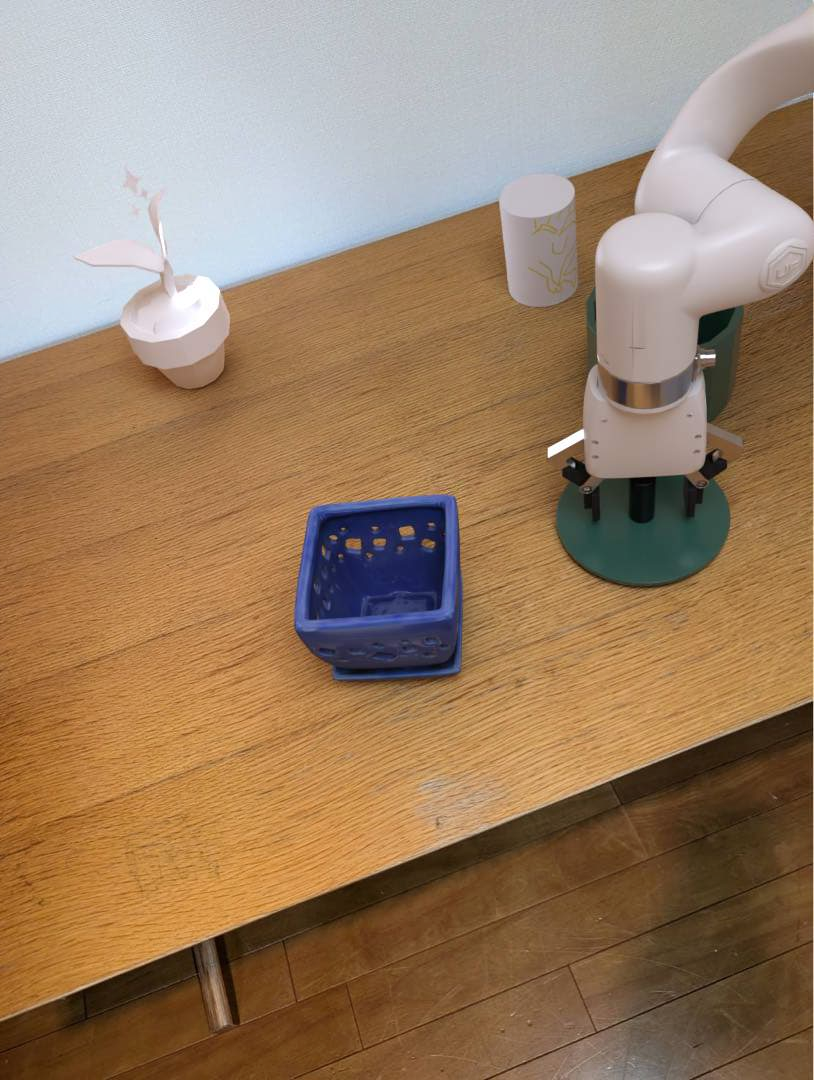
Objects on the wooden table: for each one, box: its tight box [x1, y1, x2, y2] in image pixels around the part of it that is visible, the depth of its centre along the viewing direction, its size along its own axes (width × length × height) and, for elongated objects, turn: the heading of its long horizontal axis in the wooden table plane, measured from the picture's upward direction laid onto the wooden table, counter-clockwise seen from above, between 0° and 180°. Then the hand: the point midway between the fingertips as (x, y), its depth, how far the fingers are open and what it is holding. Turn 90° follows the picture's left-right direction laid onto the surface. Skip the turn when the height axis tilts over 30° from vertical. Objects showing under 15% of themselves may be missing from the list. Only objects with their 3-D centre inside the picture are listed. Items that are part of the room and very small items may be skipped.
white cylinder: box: [498, 172, 579, 308], centre depth 112 cm, size 8×8×12 cm
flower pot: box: [293, 494, 464, 682], centre depth 85 cm, size 13×13×12 cm
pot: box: [585, 284, 745, 423], centre depth 99 cm, size 15×20×10 cm
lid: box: [555, 474, 731, 587], centre depth 91 cm, size 16×16×7 cm
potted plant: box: [73, 166, 231, 390], centre depth 107 cm, size 13×12×25 cm
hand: (641, 507), depth 92 cm, fingers open, 7 cm apart
